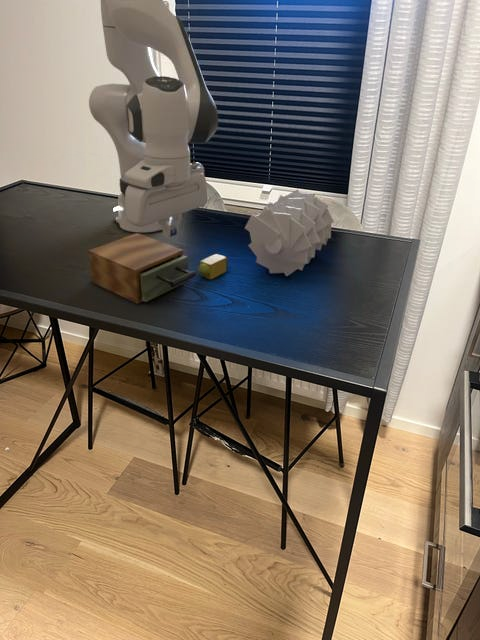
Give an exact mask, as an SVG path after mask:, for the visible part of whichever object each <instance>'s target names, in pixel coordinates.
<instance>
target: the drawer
mask: <svg viewBox="0 0 480 640" xmlns="http://www.w3.org/2000/svg"><path fill="white" fill-rule="evenodd" d="M188 259H189V258H188V256H187V255H183V256H181V257H179V258H177V256H176V257H173V258H171V259H169V260H166V261H164V262H162V263H159V264H157V265H155V266H152V267H150V268H148V269H145V270H143V271H141V272H138V276H139V288H140V296H141V295H142V301H143V303H147V302H149V301H151V300H153V299H156V298H157V297H159V296H161V295H163V294H166V293H168V292H170V291H171V290H174V289H176V288H177V287H180V286H182V285H184V284H186V283H188V282H189V280H192V279H194V278H196V276H197V272H196V271H195V270H191V271H189V261H188Z"/></svg>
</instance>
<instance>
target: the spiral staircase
mask: <svg viewBox="0 0 480 640" xmlns="http://www.w3.org/2000/svg"><path fill="white" fill-rule="evenodd" d="M329 206H330V205H329V204H328V203H326V202H325V201H323V200H321V199H320V198H318V197H317V196H316V193H314V192H300V191H299V189H298V188H297V189H295V190H294V191H292V192H289V194H286V195H282V194H280V195H279V197H278V199H277V201H276V202H274V203H272V202H271V201H269V202H268V205H267V206H266V205H265V206H264V207H263V208H262V209H261V211H260V213H259V214H258V215H255V214H253V213H252V214H251V216H250V217H249V219H248V221H247V223H246V224H245V227H244V229H245V230H246V231H248V232H249V236H250V241H251V242H250V243H249V244H248V245H247V246H248V248H249V249H250V250H251V251H252V253H253V254H254V255H255V257H256V259H255V263H256V264H259V265H261V266H262V267H264V268H267V269H268V271H269V274H284V275H285V277H288V276H290V275H291V274H293V273H294V272H295V271H297V270H300V271H303V270H304V267H305V265H308V264H309V263H310V262H311V261H312V258H313V259H314V258H315V256H316V250H318V251H322V247H323V245H324V246H327V243H328V240H329V239H331V238H332V224H333V223H335V221H334V218H333V217H332V214H331V212H330V210H329V209H328V208H329Z"/></svg>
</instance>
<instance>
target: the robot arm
mask: <svg viewBox="0 0 480 640" xmlns="http://www.w3.org/2000/svg"><path fill="white" fill-rule="evenodd" d="M100 14H101V24H102V30H103V38H104V46H105V52H106V57H107V60H108V61H109V63H110V64H111V66H113V67H114V68H115V69H117V70H118V71H120V72H121V73H122V74H123V75H124V76H125V78H126V79H127V81H128V84H125V83H123V84H122V83H106V84H101V85H97V86H94V87H93V89H92V90H91V92H90V95H89V98H88V108H89V111H90V114H91V116H92V117H93V119H94V120H95V121H96V122H97V123H98V124H99V125H100V126H101V127H102V128H103V129H104V130H105V131H106V133H107V134H108V135H109V137H110V138H111V141H112V142H113V144H114V147H115V150H116V153H117V159H118V166H119V174H120V178H119V183H118V184H119V191H120V192H121V193H119V195H118V196H117V206H115V207H114V208H113V212H116V211H118V215H117V216H116V217H115V222H116V223H117V224H119V225H118V226H119V227H120V229H122V230H124V231H126V232H131V233H153V232H158V231H162V236H163V237H164V238H167V239H168V238H172V237H174V236H177V235H178V234H179V226H180V224H181V222H182V219H183V214H184V213H187V212H190V211H194V210H196V209H199V208H203V207H205V206H206V205H207V203H208V198H209V197H208V186H207V178H206V176H205V168H204V166H203V164H201V163H200V162H197V161H195V162H193V163H191V150H190V147H189V144H199V145H203V144H205V143H207V142H209V140H210V139H211V138H212V137H213V136H214V135H215V133H216V132H217V130H218V126H219V115H218V114H219V113H218V109H217V106H216V102H215V100H214V99H213V97H212V95H211V93H210V91H209V89H208V87H207V85H206V82H205V79H204V77H203V74H202V71H201V68H200V65H199V62H198V59H197V56H196V53H195V51H194V47H193V45H192V43H191V40H190V37H189V35H188V32H187V30H186V28H185V26H184V24H183V22H182V20H181V19H180V18H179V17H177V16H176V15H175V14H173V13H172V11H171V10H170V9H169V7H168V6H167V5H166V3H165V1H164V0H100ZM151 49H152V50H154V51H157V52H158V53H160V54H162V55H163V56H165V57H167V58H168V59H169V61H170V62H171V63H172V65H173V67H174V70H175V72H176V75H177V78H175V77H170V76H162V75H160V74H159V72H158V70H157V68H156V65H155V62H154V60H153V54H152V50H151Z"/></svg>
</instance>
